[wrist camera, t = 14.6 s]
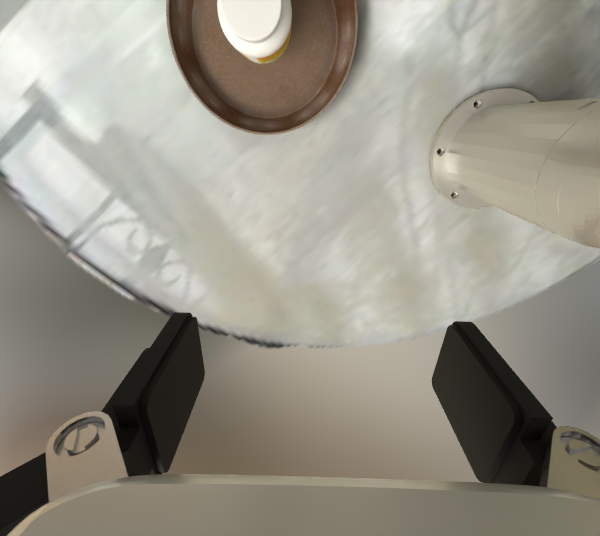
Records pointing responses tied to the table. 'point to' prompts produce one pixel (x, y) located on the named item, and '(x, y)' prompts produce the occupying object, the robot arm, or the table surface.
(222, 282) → the table surface
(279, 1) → the supplement bottle
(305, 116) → the plant saucer
